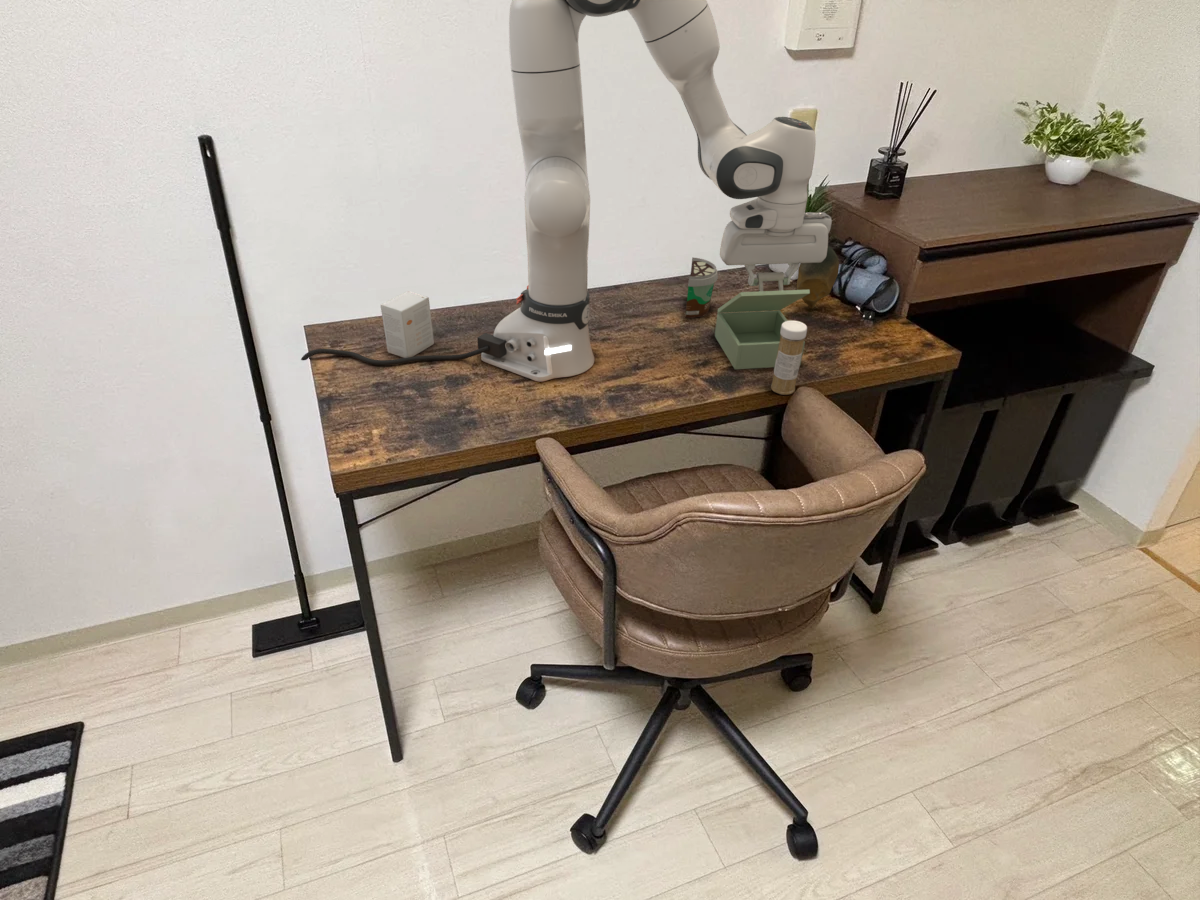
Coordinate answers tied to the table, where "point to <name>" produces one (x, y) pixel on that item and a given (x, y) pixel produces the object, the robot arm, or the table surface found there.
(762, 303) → the lid
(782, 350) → the sprinkles bottle
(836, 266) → the decorative stone
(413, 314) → the small box
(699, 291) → the food container
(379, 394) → the table surface
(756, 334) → the chest
